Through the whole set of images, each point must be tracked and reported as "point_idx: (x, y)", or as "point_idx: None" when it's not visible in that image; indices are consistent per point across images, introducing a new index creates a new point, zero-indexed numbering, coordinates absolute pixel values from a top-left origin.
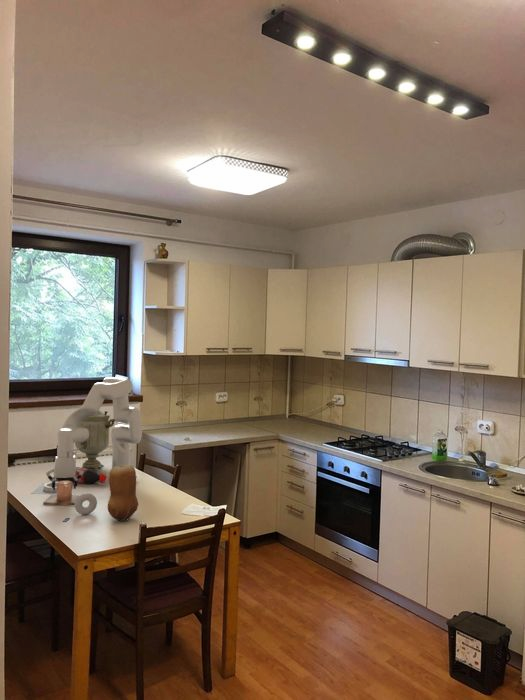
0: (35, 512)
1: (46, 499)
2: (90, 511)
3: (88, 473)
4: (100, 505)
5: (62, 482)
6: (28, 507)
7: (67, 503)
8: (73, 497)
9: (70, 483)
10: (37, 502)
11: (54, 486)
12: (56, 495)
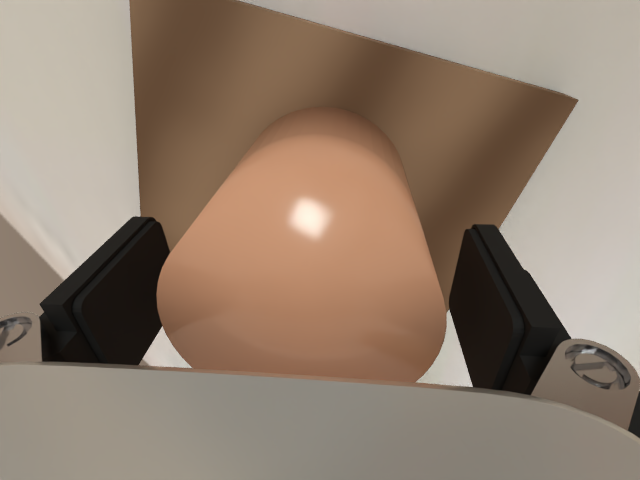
0: (157, 363)
1: (139, 179)
2: None
3: None
4: (622, 339)
5: (251, 311)
6: (64, 275)
7: None
8: (428, 160)
9: (401, 380)
10: (73, 167)
11: (155, 325)
12: (210, 28)
